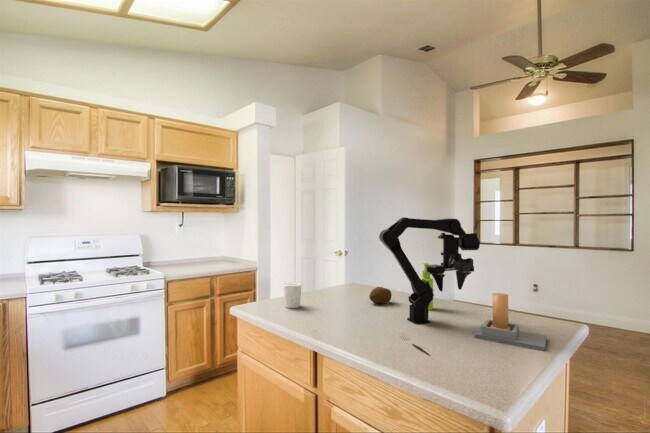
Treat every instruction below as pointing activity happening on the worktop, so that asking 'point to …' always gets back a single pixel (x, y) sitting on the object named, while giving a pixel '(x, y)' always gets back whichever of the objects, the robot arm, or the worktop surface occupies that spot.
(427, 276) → the soap dispenser
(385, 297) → the potato
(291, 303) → the white cup
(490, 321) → the housing
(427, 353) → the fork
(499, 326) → the orange knob handle
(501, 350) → the worktop surface
